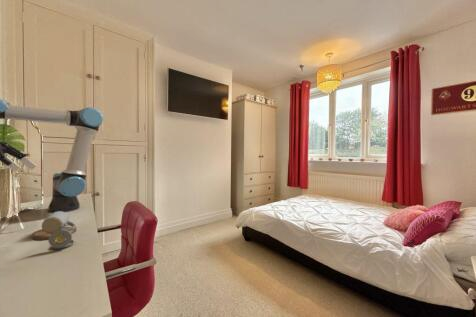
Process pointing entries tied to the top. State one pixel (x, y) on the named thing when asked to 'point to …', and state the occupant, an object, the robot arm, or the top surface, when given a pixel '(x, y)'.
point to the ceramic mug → (57, 222)
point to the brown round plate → (47, 234)
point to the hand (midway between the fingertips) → (26, 168)
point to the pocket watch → (61, 238)
